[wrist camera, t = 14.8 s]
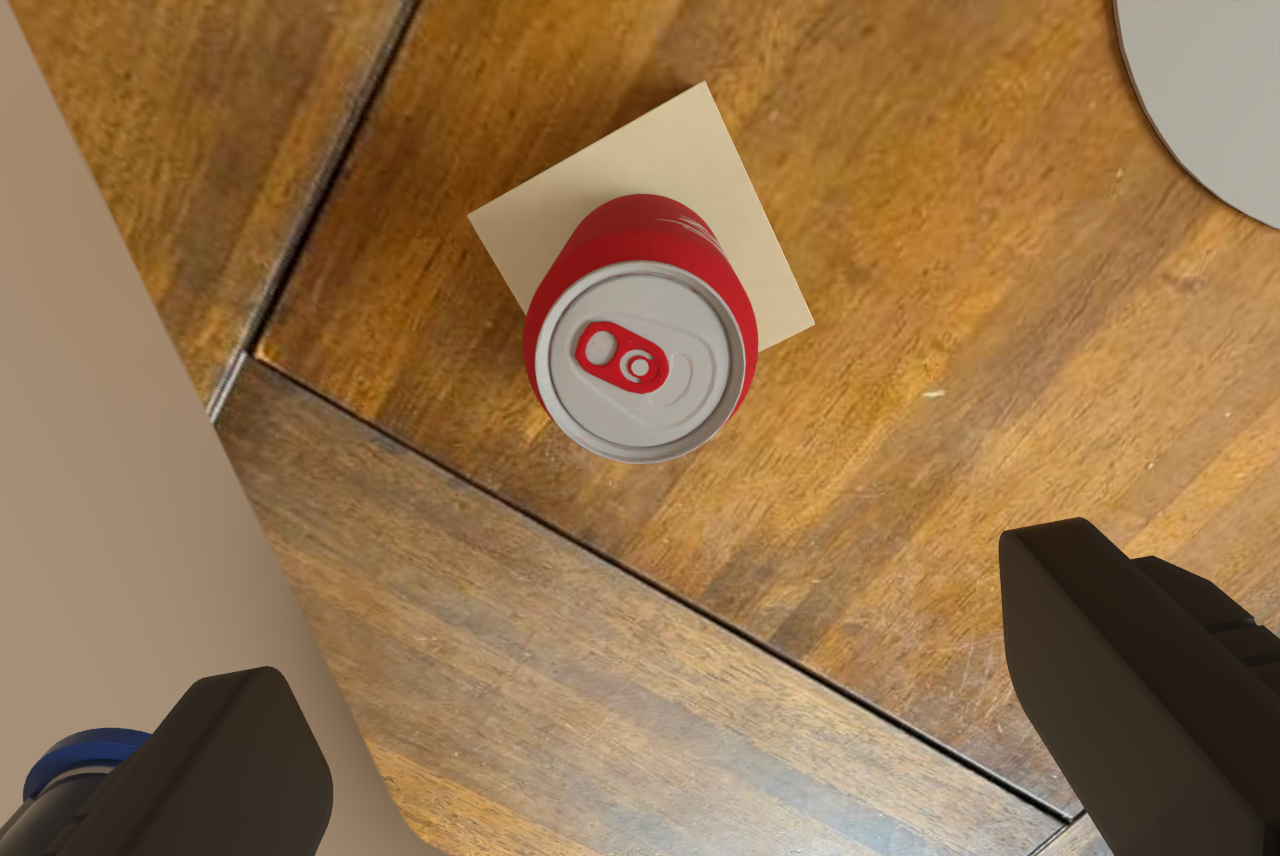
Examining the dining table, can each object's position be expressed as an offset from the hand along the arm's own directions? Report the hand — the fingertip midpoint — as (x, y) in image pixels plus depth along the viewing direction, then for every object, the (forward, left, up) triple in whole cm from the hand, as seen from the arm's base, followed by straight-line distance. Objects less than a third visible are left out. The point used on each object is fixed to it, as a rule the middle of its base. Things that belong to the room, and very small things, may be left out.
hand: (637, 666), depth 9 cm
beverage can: (0, 0, -23) cm, 23 cm away
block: (0, 0, -28) cm, 28 cm away
